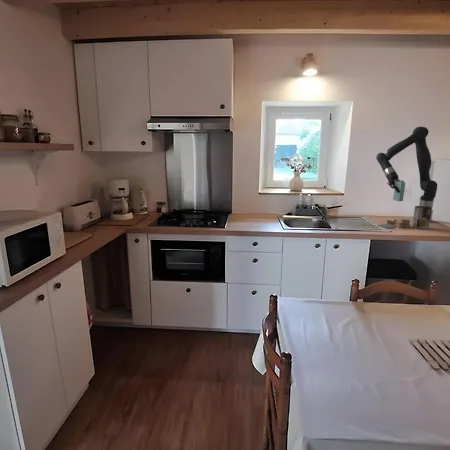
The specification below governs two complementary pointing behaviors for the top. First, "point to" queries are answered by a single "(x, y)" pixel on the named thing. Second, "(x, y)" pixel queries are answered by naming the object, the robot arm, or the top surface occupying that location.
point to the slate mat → (387, 226)
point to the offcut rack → (400, 223)
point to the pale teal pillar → (399, 195)
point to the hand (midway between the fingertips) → (401, 192)
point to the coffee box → (421, 217)
